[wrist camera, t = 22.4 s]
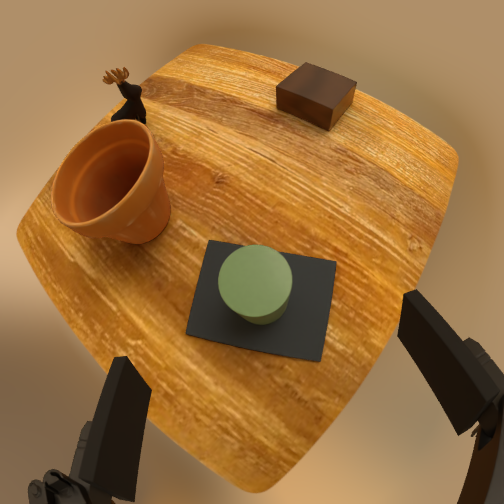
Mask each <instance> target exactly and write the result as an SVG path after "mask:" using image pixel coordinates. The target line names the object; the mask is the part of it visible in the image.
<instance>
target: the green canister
mask: <svg viewBox="0 0 504 504" xmlns="http://www.w3.org/2000/svg"><path fill="white" fill-rule="evenodd" d="M218 286H219V291H220V294H221V297H222V298H223V300H224V302H225V303H226V304H227V305H228V306H229V308H231V309H232V310H233V311H235V312H236V313H237V314H239V315H240V316H241V317H243V318H244V319H246V320H247V321H249V322H251V323H253V324H258V325H265V324H270V323H272V322H274V321H276V320H277V319H279V318H280V317H281V316H282V314H283V313H284V311H285V310H286V307H287V304H288V300H289V296H290V292H291V288H292V272H291V269H290V266H289V264H288V262H287V261H286V259H285V258H284V257H283V256H282V255H281V254H280V253H279V252H277V251H276V250H274V249H272V248H270V247H267V246H263V245H248V246H245V247H242V248H239V249H238V250H236V251H234V252H233V253H232V254H231V255H229V256H228V258H227V259H226V260H225V261H224V263H223V265H222V267H221V269H220V272H219V277H218Z"/></svg>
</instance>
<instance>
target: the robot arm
mask: <svg viewBox="0 0 504 504" xmlns="http://www.w3.org/2000/svg"><path fill="white" fill-rule="evenodd" d="M397 336H398V338H399V339H400V341H401V342H402V344H403V345H404V347H405V348H406V349H407V351H408V352H409V354H410V355H411V357H412V359H413V360H414V362H415V363H416V365H417V366H418V368H419V370H420V371H421V373H422V374H423V376H424V378H425V379H426V381H427V382H428V384H429V386H430V387H431V389H432V391H433V392H434V394H435V396H436V397H437V399H438V401H439V402H440V404H441V406H442V408H443V409H444V411H445V413H446V414H447V416H448V418H449V420H450V422H451V424H452V425H453V427H454V429H455V431H456V433H457V435H458V436H459V435H460V434H462V433H464V432H465V431H467V430H468V429H470V428H471V427H472V426H473V425H474V424H475V423H476V422H477V420H478V422H479V425H478V426H477V427H476V428H475V429H474V431H473V432H472V434H471V437H473V436H474V435H475V433H477V435H476V440H475V445H474V450H473V454H472V458H471V462H470V466H469V469H468V473H467V476H466V479H465V483H464V486H463V489H462V491H461V494H460V497H459V500H458V502H457V504H504V374H503V373H502V372H501V370H500V369H499V368H498V366H497V365H496V364H495V362H494V361H493V360H492V359H490V356H489V355H488V354H487V353H486V352H485V350H484V349H483V348H482V346H481V345H480V344H479V343H478V342H476V341H474V340H473V339H471V338H468V339H466V340H464V341H462V340H461V338H460V337H459V336H458V335H457V334H456V332H455V331H454V330H453V329H452V328H451V327H450V325H449V324H448V323H447V322H446V321H445V320H444V319H443V317H442V316H441V315H440V314H439V313H438V312H437V311H436V310H435V309H434V307H433V306H432V305H431V304H430V303H429V302H428V301H427V300H426V299H425V298H424V297H423V296H422V294H421V293H420V292H419V291H418V290H417V289H416V290H413V291H410V292H407V293H405V294H404V295H403V303H402V310H401V317H400V323H399V329H398V335H397ZM151 392H152V390H151V388H150V387H149V386H148V385H147V383H146V382H145V381H144V379H143V378H142V377H141V375H140V374H139V373H138V371H137V370H136V368H135V367H134V366H133V364H132V363H131V361H130V360H129V359H128V357H127V356H122V357H114V359H113V362H112V364H111V367H110V370H109V373H108V375H107V378H106V381H105V384H104V387H103V390H102V393H101V396H100V399H99V402H98V405H97V408H96V411H95V415H94V418H93V421H87V423H86V424H85V425H84V427H83V428H82V430H81V434H80V437H79V441H78V444H77V449H76V451H75V455H74V459H73V463H72V467H71V471H70V474H69V477H68V476H66V475H65V474H63V473H61V472H60V471H58V470H55V469H52V470H49V471H48V472H47V473H46V474H45V475H44V478H43V482H41V481H39V480H33V481H32V482H31V483H30V484H29V487H28V497H29V503H30V504H115V503H114V501H113V500H111V499H112V496H113V497H116V498H118V499H120V500H125V501H131V502H135V493H136V484H137V476H138V467H139V460H140V454H141V447H142V441H143V435H144V429H145V423H146V418H147V412H148V407H149V402H150V397H151Z"/></svg>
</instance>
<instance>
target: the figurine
mask: <svg viewBox="0 0 504 504" xmlns="http://www.w3.org/2000/svg"><path fill="white" fill-rule="evenodd" d="M116 70H117V71H114V70H111V72H112V73H113V74H114V75H115V76H116V77H117V78H115V77H114V76H113V75H111V74H110V73H109V72H107V71H106V74H107V76H104V79H103V82H105V83H106V84H112V83H113V82H116V83H117V86H118V88H119V89H120V91H121V93H122V95H123V97H124V98H126V99H127V101H126V103H125V104H124V106H123V107H122V108H121V109H120V110H118V111H117V112H116V113H115V114H114V115H113V116H112V117H111V122H113V121H117V120H125V119H126V120H135V121H136V120H139V119H140V122H141V123H143V124H146V118H145V117H146V110H145V108H144V105H143V103H142V101H141V98H140V97H141V92H142V89H141V87H140V86H138V85H131V84H129V83H127V82H126V81H125V80H124V79H126V78H128V76H129V72H128V70H127V69H126V68H125V67H124V68H123V71H124V72H122V71H121V70H119V69H118V68H116Z"/></svg>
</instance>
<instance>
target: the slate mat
mask: <svg viewBox="0 0 504 504" xmlns="http://www.w3.org/2000/svg"><path fill="white" fill-rule="evenodd" d="M242 247H245V246H243V245H237V244H231V243H225V242H219V241H213V240H209V241H208V245H207V249H206V253H205V256H204V260H203V264H202V268H201V271H200V275H199V279H198V283H197V287H196V291H195V295H194V299H193V303H192V307H191V312H190V316H189V320H188V324H187V329H186V334H188V335H192V336H196V337H200V338H204V339H207V340H211V341H216V342H220V343H224V344H228V345H233V346H237V347H242V348H246V349H251V350H256V351H261V352H266V353H271V354H276V355H282V356H288V357H293V358H300V359H306V360H313V361H321V357H322V352H323V346H324V341H325V336H326V330H327V324H328V319H329V312H330V306H331V300H332V293H333V286H334V278H335V271H336V261H331V260H325V259H319V258H313V257H307V256H302V255H296V254H290V253H284V252H279V253H280V254H281V255H282V256H283V257H284V258H285V259H286V261H287V262H288V264H289V266H290V269H291V272H292V288H291V292H290V296H289V300H288V304H287V307H286V310H285V311H284V313H283V314H282V316H281V317H280V318H279V319H277V320H276V321H274V322H272V323H270V324H265V325H258V324H253V323H251V322H249V321H247V320H246V319H244V318H243V317H241V316H240V315H239V314H237V313H236V312H235V311H233V310H232V309H231V308H229V306H228V305H227V304H226V303H225V302H224V300H223V298H222V297H221V294H220V291H219V286H218V277H219V272H220V269H221V267H222V265H223V263H224V261H225V260H226V259H227V258H228V256H229V255H231V254H232V253H233V252H234V251H236V250H238V249H239V248H242ZM277 252H278V251H277Z"/></svg>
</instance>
